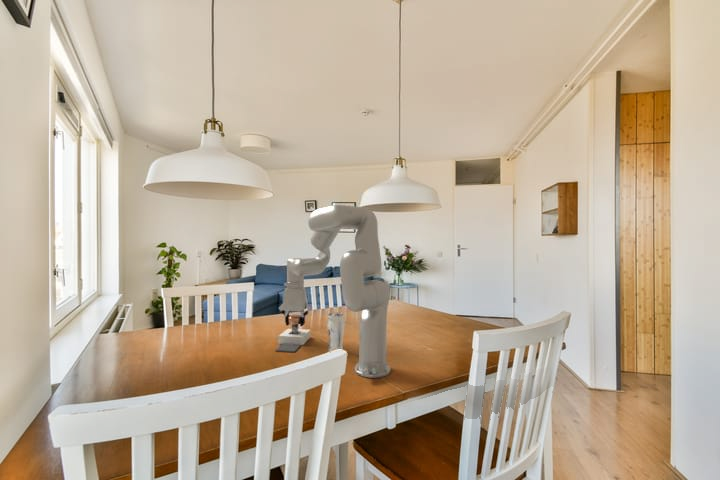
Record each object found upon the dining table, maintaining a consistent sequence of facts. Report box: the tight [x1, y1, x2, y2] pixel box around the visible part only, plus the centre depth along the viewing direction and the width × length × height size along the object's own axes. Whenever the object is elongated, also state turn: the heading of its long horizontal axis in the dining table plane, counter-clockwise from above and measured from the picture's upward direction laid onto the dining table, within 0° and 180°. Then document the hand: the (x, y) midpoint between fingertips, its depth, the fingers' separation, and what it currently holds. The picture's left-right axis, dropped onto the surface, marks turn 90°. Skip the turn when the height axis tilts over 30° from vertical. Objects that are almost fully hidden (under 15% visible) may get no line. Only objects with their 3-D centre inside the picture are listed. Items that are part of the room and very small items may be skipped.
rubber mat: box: [275, 344, 302, 354], centre depth 130 cm, size 8×8×1 cm
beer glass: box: [327, 312, 345, 352], centre depth 129 cm, size 7×7×15 cm
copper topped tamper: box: [288, 314, 301, 335], centre depth 141 cm, size 6×6×11 cm
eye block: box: [277, 328, 311, 346], centre depth 141 cm, size 11×11×4 cm
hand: (295, 324), depth 141 cm, fingers closed on copper topped tamper, 6 cm apart
